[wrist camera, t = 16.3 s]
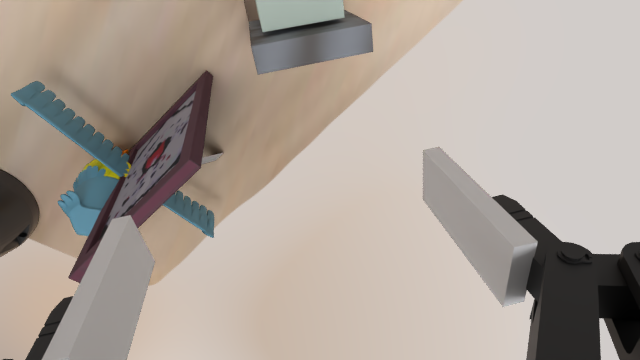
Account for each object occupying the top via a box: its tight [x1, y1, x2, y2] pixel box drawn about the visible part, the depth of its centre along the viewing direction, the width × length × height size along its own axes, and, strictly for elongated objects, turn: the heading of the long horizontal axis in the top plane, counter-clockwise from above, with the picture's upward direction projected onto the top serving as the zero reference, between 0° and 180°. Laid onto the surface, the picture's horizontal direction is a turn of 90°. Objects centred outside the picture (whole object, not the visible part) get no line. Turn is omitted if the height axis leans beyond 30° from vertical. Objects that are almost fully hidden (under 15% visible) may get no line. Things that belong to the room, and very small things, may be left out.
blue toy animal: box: [11, 81, 214, 238], centre depth 48 cm, size 28×9×15 cm, turn 38°
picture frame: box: [69, 71, 223, 283], centre depth 44 cm, size 17×10×25 cm, turn 131°
